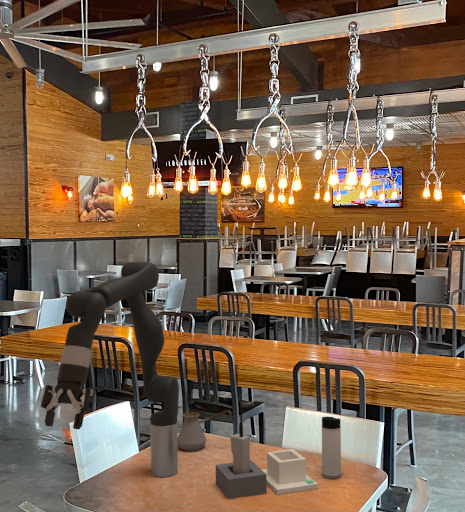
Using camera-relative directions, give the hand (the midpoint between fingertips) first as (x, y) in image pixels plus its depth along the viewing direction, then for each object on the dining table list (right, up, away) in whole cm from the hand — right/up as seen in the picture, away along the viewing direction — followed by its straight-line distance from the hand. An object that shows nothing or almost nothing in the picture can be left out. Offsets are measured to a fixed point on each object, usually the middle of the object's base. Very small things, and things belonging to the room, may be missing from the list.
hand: (62, 427), depth 159 cm
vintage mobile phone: (+46, -30, +39) cm, 68 cm away
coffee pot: (+33, -30, +79) cm, 91 cm away
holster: (+46, -30, +39) cm, 68 cm away
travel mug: (+77, -30, +48) cm, 96 cm away
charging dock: (+62, -30, +44) cm, 81 cm away
